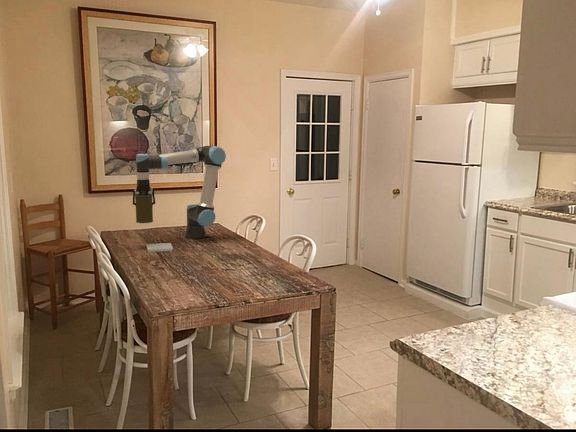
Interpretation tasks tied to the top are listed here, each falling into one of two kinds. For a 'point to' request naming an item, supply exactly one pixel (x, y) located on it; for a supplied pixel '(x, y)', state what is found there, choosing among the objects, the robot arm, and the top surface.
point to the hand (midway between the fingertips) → (144, 215)
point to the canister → (144, 208)
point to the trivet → (159, 247)
